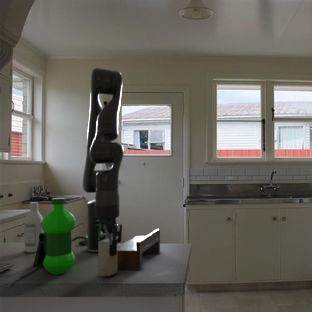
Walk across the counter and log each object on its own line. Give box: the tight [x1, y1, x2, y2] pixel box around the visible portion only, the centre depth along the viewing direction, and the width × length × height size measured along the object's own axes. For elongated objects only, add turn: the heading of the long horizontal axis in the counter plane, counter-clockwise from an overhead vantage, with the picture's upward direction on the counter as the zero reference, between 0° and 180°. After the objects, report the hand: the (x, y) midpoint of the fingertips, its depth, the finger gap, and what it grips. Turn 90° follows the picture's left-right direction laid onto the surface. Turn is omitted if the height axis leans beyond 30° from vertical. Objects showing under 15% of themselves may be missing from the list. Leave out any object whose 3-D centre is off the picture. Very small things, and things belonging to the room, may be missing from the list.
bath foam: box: [24, 201, 44, 253], centre depth 152 cm, size 7×7×20 cm
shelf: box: [117, 228, 161, 271], centre depth 137 cm, size 10×22×10 cm, turn 174°
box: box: [97, 238, 118, 277], centre depth 121 cm, size 5×4×11 cm
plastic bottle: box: [42, 197, 76, 275], centre depth 124 cm, size 10×10×25 cm
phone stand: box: [32, 232, 46, 268], centre depth 132 cm, size 9×6×12 cm, turn 67°
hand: (107, 253), depth 121 cm, fingers closed on box, 6 cm apart
